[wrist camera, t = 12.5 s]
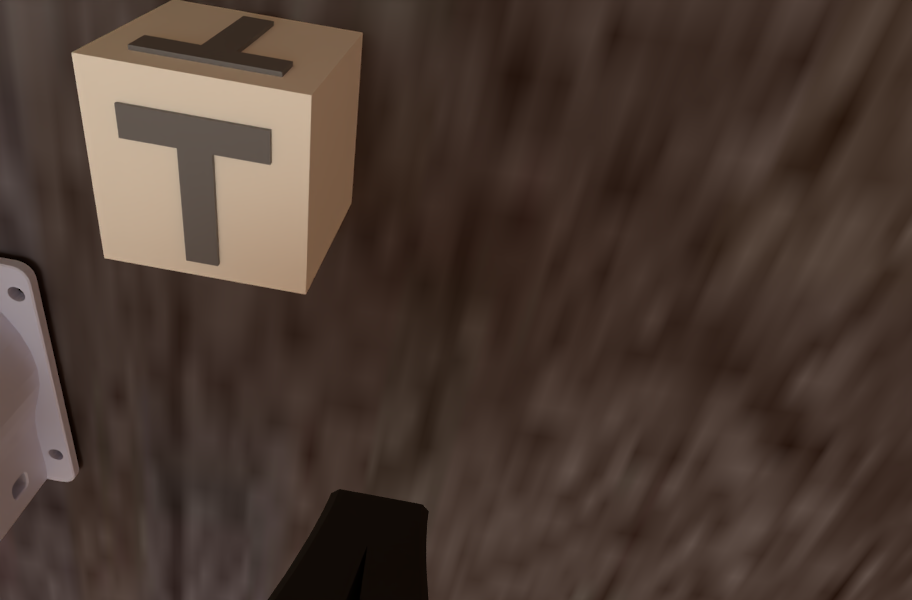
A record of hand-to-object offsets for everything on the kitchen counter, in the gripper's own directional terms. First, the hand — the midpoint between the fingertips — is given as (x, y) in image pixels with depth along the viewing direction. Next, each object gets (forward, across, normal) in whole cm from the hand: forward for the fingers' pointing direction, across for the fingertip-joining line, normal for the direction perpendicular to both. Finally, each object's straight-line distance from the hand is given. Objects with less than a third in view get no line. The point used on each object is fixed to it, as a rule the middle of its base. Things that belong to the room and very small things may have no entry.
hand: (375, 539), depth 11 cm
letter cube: (+10, +5, -2) cm, 12 cm away
